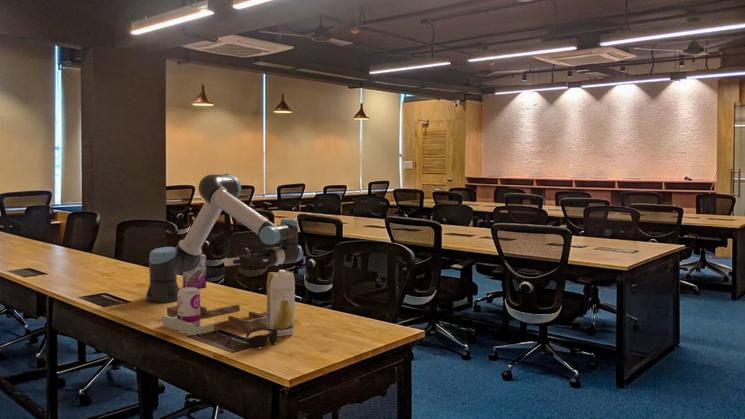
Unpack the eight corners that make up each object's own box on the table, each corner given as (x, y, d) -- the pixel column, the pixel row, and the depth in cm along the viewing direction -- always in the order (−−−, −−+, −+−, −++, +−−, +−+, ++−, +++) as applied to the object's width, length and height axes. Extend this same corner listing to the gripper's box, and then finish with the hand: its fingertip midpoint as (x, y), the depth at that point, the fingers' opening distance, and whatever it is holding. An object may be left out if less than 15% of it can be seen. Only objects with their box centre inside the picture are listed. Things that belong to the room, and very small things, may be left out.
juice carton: (271, 338, 217) (272, 272, 216) (265, 332, 224) (265, 268, 223) (296, 335, 222) (296, 270, 220) (289, 329, 229) (289, 267, 227)
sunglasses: (254, 352, 202) (254, 337, 202) (222, 343, 211) (222, 329, 211) (282, 342, 213) (282, 328, 213) (250, 335, 222) (250, 321, 222)
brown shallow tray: (223, 306, 265) (223, 297, 265) (285, 322, 239) (285, 312, 238) (167, 317, 245) (167, 307, 245) (227, 337, 218) (227, 326, 218)
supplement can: (204, 326, 232) (204, 288, 230) (189, 331, 224) (189, 292, 223) (188, 324, 235) (188, 285, 234) (173, 329, 228) (172, 289, 227)
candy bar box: (183, 289, 300) (183, 256, 298) (182, 287, 304) (181, 255, 303) (206, 287, 304) (206, 255, 303) (204, 285, 309) (204, 254, 308)
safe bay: (183, 321, 239) (183, 311, 239) (213, 331, 226) (213, 320, 225) (162, 325, 232) (162, 315, 232) (192, 336, 219) (192, 325, 218)
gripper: (281, 267, 254) (235, 274, 236) (261, 263, 262) (215, 269, 244) (281, 249, 253) (235, 255, 235) (262, 246, 262) (215, 251, 244)
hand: (225, 262), depth 240 cm, fingers closed
